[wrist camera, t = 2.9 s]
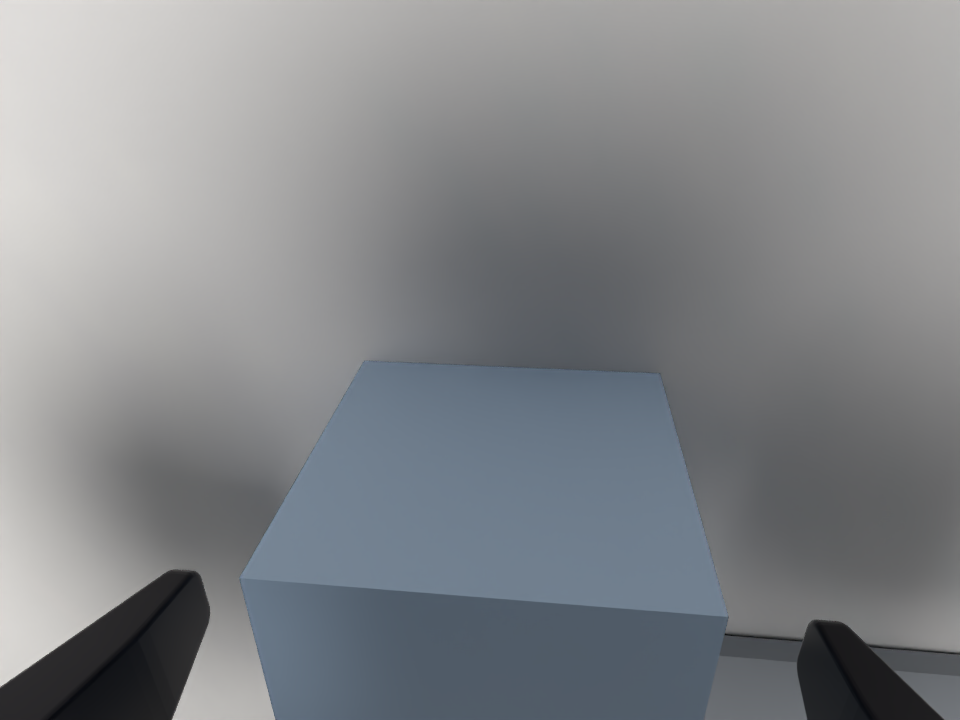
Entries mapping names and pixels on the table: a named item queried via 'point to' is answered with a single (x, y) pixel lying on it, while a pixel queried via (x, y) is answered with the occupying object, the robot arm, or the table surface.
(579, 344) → the table surface
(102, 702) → the robot arm
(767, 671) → the letter card
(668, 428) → the blue cube
